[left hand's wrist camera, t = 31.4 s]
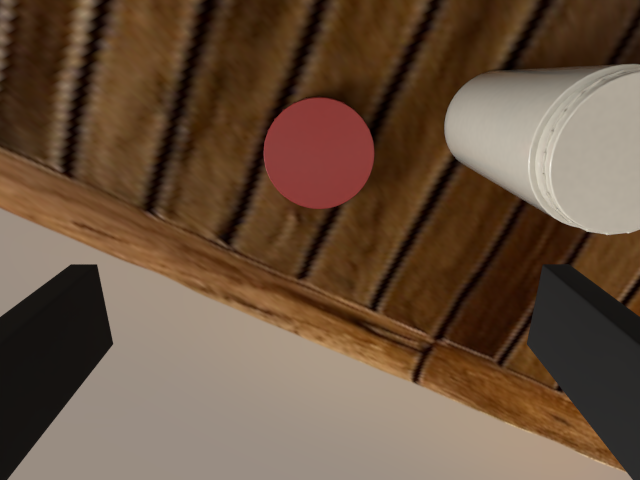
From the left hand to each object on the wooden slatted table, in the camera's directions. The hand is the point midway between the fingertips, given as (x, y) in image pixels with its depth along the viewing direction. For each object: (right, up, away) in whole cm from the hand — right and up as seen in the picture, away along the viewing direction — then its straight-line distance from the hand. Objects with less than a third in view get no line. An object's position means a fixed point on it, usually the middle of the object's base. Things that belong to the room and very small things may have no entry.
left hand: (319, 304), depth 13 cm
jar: (+16, +13, +27) cm, 34 cm away
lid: (0, +10, +27) cm, 29 cm away
